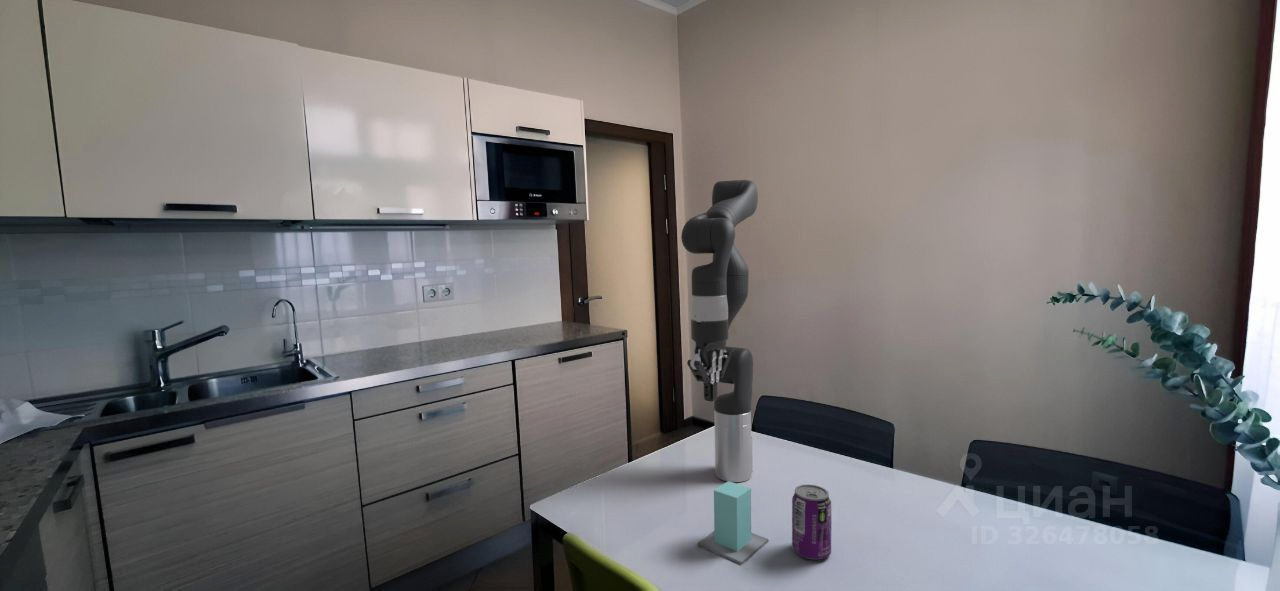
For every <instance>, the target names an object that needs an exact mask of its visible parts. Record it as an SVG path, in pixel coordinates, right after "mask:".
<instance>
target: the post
mask: <svg viewBox="0 0 1280 591" xmlns="http://www.w3.org/2000/svg"><path fill="white" fill-rule="evenodd" d="M768 543H769V538H767V537H764V536H761V535H758V534H756V533H753V532H751V541H750V542H748V543H747V544H746V545H745V546H744V547H742V548H741V549H740V550H739V551H738V552H737V551H735V550H732V549H730V548H728V547H725V546H723V545H720V544H718V543H716V542H715V539H714V531H712V532H710V533H709V534H708V535H707V536H705V537H704V538H702V539H701V540H700V541H698V542H697V546H699V547H700V548H704V549H705V550H707V551H710V552H712V553H714V554H717V555H719V556H721V557H722V558H723V557H724V558H726V559H728V560H730V561H732V562H734V563H737V564H740V565H743V564H744V563H746V562H747V561H748V560H749V559H750V558H751V557H752V556H754V555H755V554H756V553H757V552H759V550H761V549H762V548H763V547H764V546H765V545H767V544H768Z"/></svg>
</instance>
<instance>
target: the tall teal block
mask: <svg viewBox="0 0 1280 591" xmlns="http://www.w3.org/2000/svg"><path fill="white" fill-rule="evenodd" d="M713 515H714V516H713V522H714V523H713V525H714V539H715V542H716V543H718V544H720V545H723V546H725V547H728V548H730V549H732V550H735V551H737V552H738V551H739V550H740V549H741V548H742V547H744V546H745V545H746V544H747V543H748V542H750V541H751V533H752V488H751V487H748V486H744V485H741V484H738V483H737V482H729V481H725V483H723V484H722V485H720V486H718V487H717V488H715V489H714V490H713Z"/></svg>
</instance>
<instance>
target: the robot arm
mask: <svg viewBox="0 0 1280 591" xmlns="http://www.w3.org/2000/svg"><path fill="white" fill-rule="evenodd" d="M711 194H712V195H711V207H710V208H708V210H707V211H706V212H704V213H700V214H698V215H695V216H693V217H691V218H690V219H687V221H686V223H685V224H684V226H683V227H682V230H681V235H680V236H681V237H680V238H681V244H682V245H683V247H684V249H685V250H686V251H687V252H689V253H691V254H697V255H698V254H699V255H701V254H703V255H704V254H712V261H711V262H710V263H707V264H703V265H702V264H701V265H697V266H696V267H694V268H693V269H692V270H691V303H690V328H691V330H690V334H691V335H690V336H691V340H693V342H695V347H694V356H693V357H692V359H688V360H687V362H686V363H687V364H686V365H687V366H688V368H689V370H690V371H691V374H692V375H693V376H694V378H695V380H696V381H697V382H701V383H702V384H703V398H704V400H705V401H707V402H711V403H713V406H714V407H713V409H714V412H713V415H714V421H713V422H714V470H715V471H714V474H715V476H716V478H717V479H719V480H722V481H725V482H728V481H729V482H732V483H741V482H742V483H743V482H747V481H748V480H750V479H751V478H752V473H753V471H754V470H753V469H754V468H753V436H752V399H753V375H754V358H753V355H752V352H751V351H750V350H749V349H748V348H745V347H736V346H735V347H734V346H727V341H728V339H729V330H730V327H731V324H732V323H733V321H734V319H735V318H736V316H737V315H738V313H739V312H740V310H741V309H742V308H743V305H745V302H746V300H747V298H748V296H749V295H748V294H749V275H750V274H749V267H748V265H747V263H746V261H745V259H744V258H743V256H742V253H741V252H740V251H739V250H738V247H737V246H736V245H735V239H736V229H735V228H736V227H737V226H738V224H740V223H742V222H743V221H744V220H746V219H748V218H749V217H751V216H753V215H754V214H755V213H756V211H757V207H758V201H759V200H758V199H759V197H758V188H757V185H756V184H755V182H753V180H749V179H737V180H733V179H732V180H722V181H721V180H720V181H716V183H714V185H713V188H712V192H711ZM718 383H720V384H721V383H722V384H731V385H734V386H733V391H731V392H728V393H723V394H721V395H718Z"/></svg>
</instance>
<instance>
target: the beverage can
mask: <svg viewBox="0 0 1280 591" xmlns="http://www.w3.org/2000/svg"><path fill="white" fill-rule="evenodd" d="M829 496H830V492H829V491H828V490H827V489H826V488H824V487H822V486H819V485H815V484H800V485H798V486H796V487H795V488H794V494H793V495H792V500H791V503H792V504H791V505H792V507H791V508H792V509H791V515H792V516H791V534H792V535H791V547H792V550H793V551H794V552H795V553H797V555H800V556H801V557H803V558H806V559H808V560H816V561H817V560H822V559H826V558H828V557H830V556H831V554H832V500H831V499H830V497H829Z"/></svg>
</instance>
